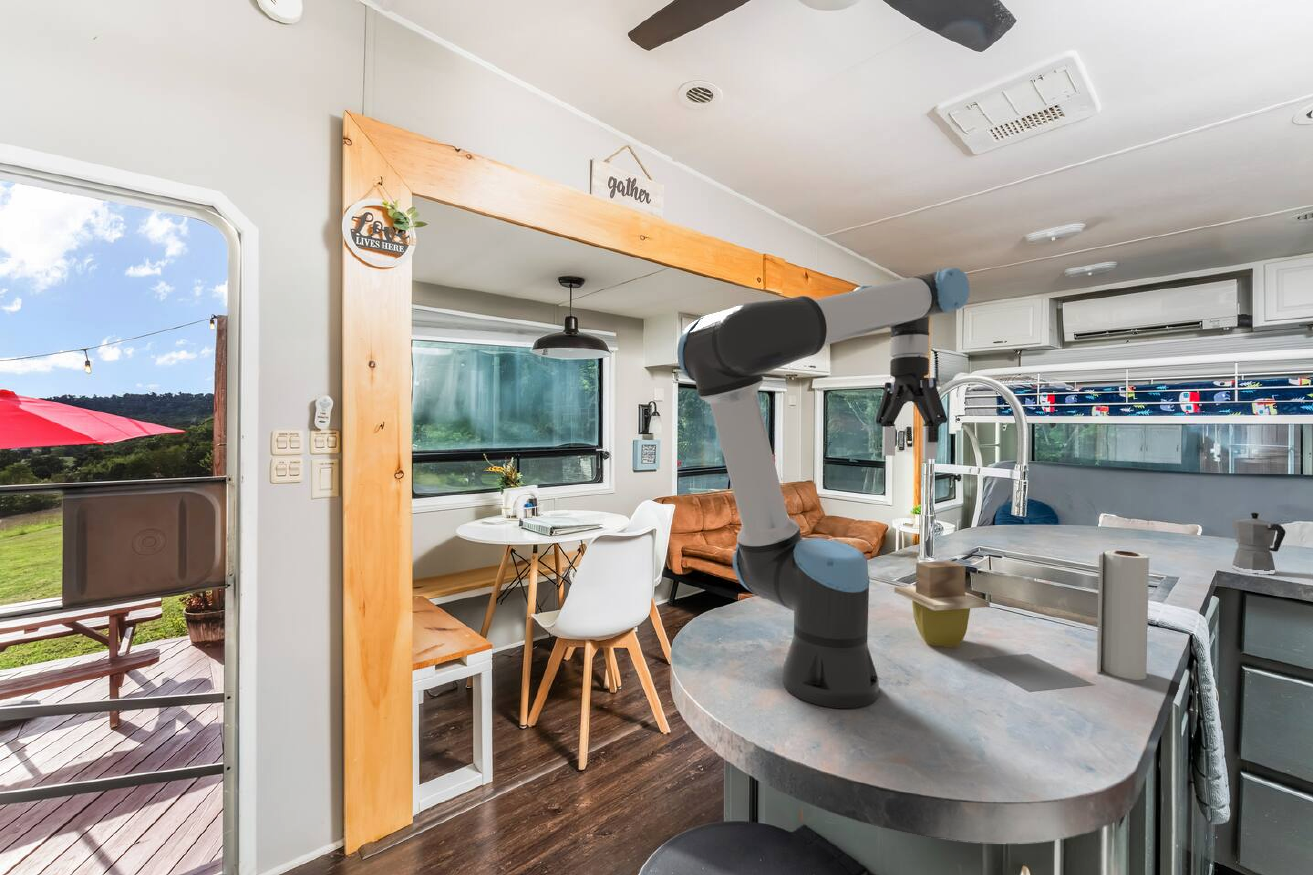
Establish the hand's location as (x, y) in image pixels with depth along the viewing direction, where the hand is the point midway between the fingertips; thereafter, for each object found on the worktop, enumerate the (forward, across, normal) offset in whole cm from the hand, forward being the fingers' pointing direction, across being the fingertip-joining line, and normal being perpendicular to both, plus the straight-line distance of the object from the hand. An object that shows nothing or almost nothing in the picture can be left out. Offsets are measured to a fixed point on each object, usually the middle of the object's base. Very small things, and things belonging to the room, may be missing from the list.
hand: (908, 457), depth 119 cm
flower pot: (+37, -9, -1) cm, 38 cm away
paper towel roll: (+37, -27, -23) cm, 51 cm away
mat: (+37, -24, -7) cm, 44 cm away
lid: (+28, -9, -1) cm, 29 cm away
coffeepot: (+37, +23, -137) cm, 143 cm away
